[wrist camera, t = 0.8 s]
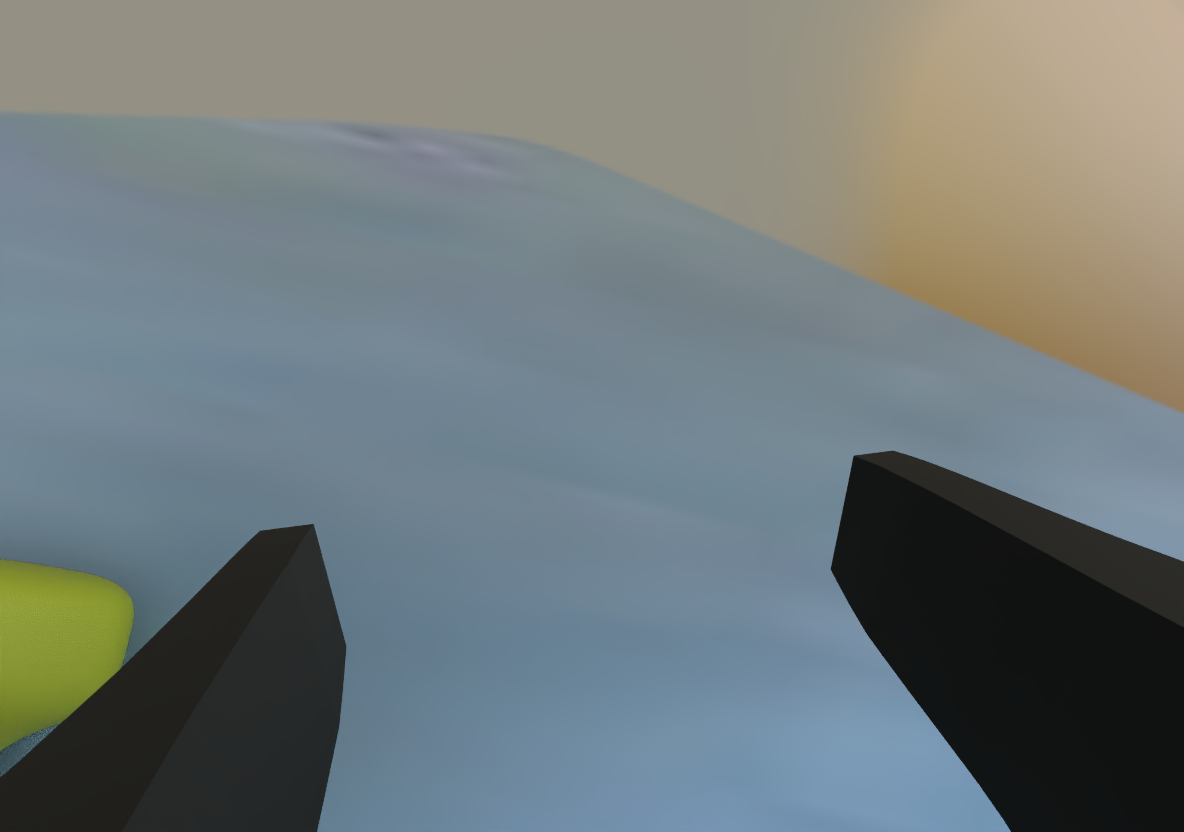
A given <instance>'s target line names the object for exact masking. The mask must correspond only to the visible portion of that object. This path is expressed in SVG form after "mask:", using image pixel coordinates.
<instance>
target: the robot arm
mask: <svg viewBox="0 0 1184 832" xmlns="http://www.w3.org/2000/svg"><path fill="white" fill-rule="evenodd" d="M831 571H832V573H833V575H834V577H835V578H836V580H837V582H838V584H839V586H840V588H841V590H842V592H843V593H844V595H845V597H846V599H847V601H848V603H849V605H850V606H851V608H852V610H853V611H854V613H855V615H856V617H857V618H858V620H859V622H860V623H861V625H862V627H863V629H864V630H865V632H866V633H867V635H868V636H869V638H870V639H871V640H872V642H873V643H874V645H875V646H876V647H877V649H878V650H879V651H880V653H881V654H882V656H883V657H884V658H885V660H886V661H887V662H888V664H889V665H890V666H891V668H892V669H893V670H894V672H895V673H896V674H897V676H898V677H899V679H900V680H901V681H902V683H903V684H904V685H905V687H906V688H907V689H908V691H909V692H910V693H911V695H912V696H913V697H914V699H915V700H916V701H917V703H918V704H919V705H920V707H921V708H922V709H923V711H924V712H925V713H926V715H927V716H928V717H929V718H930V720H931V721H932V722H933V724H934V725H935V726H936V728H937V729H938V730H939V732H940V733H941V734H942V736H943V737H944V738H945V740H946V741H947V742H948V744H949V745H950V746H951V748H952V749H953V750H954V752H955V753H956V754H957V756H958V757H959V758H960V760H961V761H962V762H963V764H964V765H965V766H966V768H967V769H968V770H969V772H970V773H971V774H972V776H973V777H974V778H975V780H976V781H977V782H978V784H979V785H980V787H981V788H982V790H983V791H984V792H985V794H986V795H987V797H988V798H989V800H990V801H991V802H992V804H993V805H994V807H995V808H996V810H997V811H998V812H999V814H1000V815H1001V817H1002V818H1003V820H1004V821H1005V823H1006V824H1007V826H1008V828H1009V829H1010V831H1011V832H1184V562H1183V561H1181V560H1178V559H1175V558H1172V557H1170V556H1167V555H1164V554H1162V553H1159V552H1156V551H1153V550H1151V549H1148V548H1145V547H1142V546H1140V545H1137V544H1134V543H1131V542H1129V541H1126V540H1123V539H1121V538H1118V537H1116V536H1113V535H1110V534H1108V533H1105V532H1103V531H1100V530H1098V529H1095V528H1092V527H1090V526H1087V525H1085V524H1082V523H1080V522H1077V521H1075V520H1072V519H1070V518H1067V517H1065V516H1062V515H1060V514H1057V513H1055V512H1052V511H1050V510H1047V509H1045V508H1042V507H1040V506H1037V505H1035V504H1032V503H1030V502H1027V501H1025V500H1022V499H1020V498H1018V497H1015V496H1013V495H1010V494H1008V493H1005V492H1003V491H1000V490H998V489H995V488H993V487H991V486H988V485H986V484H983V483H981V482H978V481H976V480H973V479H971V478H968V477H966V476H963V475H961V474H958V473H956V472H953V471H950V470H948V469H945V468H943V467H940V466H937V465H935V464H932V463H929V462H927V461H924V460H921V459H918V458H915V457H912V456H909V455H906V454H902V453H899V452H896V451H887V452H879V453H871V454H863V455H855V456H854V457H853V462H852V467H851V472H850V477H849V482H848V487H847V492H846V497H845V501H844V506H843V511H842V516H841V521H840V526H839V531H838V536H837V541H836V546H835V551H834V556H833V561H832V566H831ZM345 656H346V644H345V640H344V636H343V632H342V629H341V625H340V621H339V617H338V614H337V610H336V606H335V602H334V599H333V595H332V591H331V588H330V584H329V580H328V576H327V573H326V569H325V565H324V561H323V558H322V554H321V550H320V546H319V543H318V539H317V535H316V531H315V528H314V524H310V525H302V526H294V527H286V528H279V529H271V530H263V531H259V532H258V533H257V534H256V535H255V536H254V537H253V538H252V539H251V540H250V541H249V542H248V543H247V544H246V545H245V546H244V547H243V548H241V549H240V550H239V551H238V552H237V553H236V554H235V555H234V556H233V557H232V558H231V559H230V560H229V561H228V563H227V564H226V565H225V566H224V567H223V568H222V569H221V570H220V571H219V572H218V573H217V574H216V575H215V576H214V577H213V578H212V579H211V580H210V581H209V582H208V583H207V584H206V585H205V586H204V587H203V588H202V589H201V590H200V591H199V592H198V593H197V594H196V595H195V596H194V597H193V598H192V599H191V600H190V601H189V602H188V603H187V604H186V605H185V606H184V607H183V608H182V609H181V610H180V611H179V612H178V613H177V614H176V615H175V616H174V617H173V618H172V619H171V620H170V621H169V622H168V623H167V624H166V625H165V626H164V627H163V628H162V629H161V630H160V631H159V632H158V633H157V634H156V635H155V636H154V637H153V638H152V639H151V640H149V641H148V642H147V643H146V644H145V645H144V646H143V647H142V648H141V649H140V650H139V651H138V652H137V653H136V654H135V655H134V656H133V657H132V658H131V659H130V660H129V661H128V662H127V663H126V664H125V665H124V666H123V667H122V668H121V669H120V670H119V671H118V672H116V673H115V674H114V675H113V676H112V677H111V678H110V679H109V680H108V681H107V682H106V683H104V684H103V685H102V686H101V687H100V688H99V689H98V690H97V691H96V692H95V693H94V694H92V695H91V696H90V697H89V698H88V699H87V700H86V701H85V702H84V703H83V704H81V705H80V706H79V707H78V708H77V709H76V710H75V711H74V712H73V713H72V714H71V715H69V716H68V717H67V718H66V719H65V720H64V721H63V722H62V723H61V724H60V725H59V726H57V727H56V728H55V729H54V730H53V731H52V732H51V733H50V734H49V735H48V736H46V737H45V738H44V739H43V740H42V741H41V742H40V743H39V744H38V745H37V746H36V747H34V748H33V749H32V750H31V751H30V752H29V753H28V754H27V755H26V756H25V757H23V758H22V759H21V760H20V761H19V762H18V763H17V764H16V765H14V766H13V767H12V768H11V769H10V770H9V771H7V772H6V773H5V774H4V775H3V776H2V777H1V778H0V832H317V829H318V824H319V820H320V815H321V810H322V806H323V801H324V797H325V792H326V787H327V782H328V777H329V773H330V768H331V763H332V758H333V754H334V749H335V744H336V739H337V734H338V729H339V722H340V712H341V702H342V692H343V681H344V668H345Z"/></svg>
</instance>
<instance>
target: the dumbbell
mask: <svg viewBox="0 0 1184 832" xmlns="http://www.w3.org/2000/svg"><path fill="white" fill-rule="evenodd" d="M133 619H134V606H133V602H132V599H131V598H130V596H129V595H128V593H127V592H126V591H125V590H124V589H123V588H121V587H120V586H119V585H117V584H116V583H114V582H112V581H110V580H108V579H105V578H103V577H99V576H96V575H92V574H88V573H84V572H79V571H73V570H68V569H62V568H57V567H51V566H45V565H39V564H34V563H27V562H21V561H14V560H6V559H0V752H1V751H2V750H3V749H4V748H5V747H7V746H9V745H11V744H12V743H14V742H16V741H17V740H19V739H21V738H24V737H26V736H28V735H30V734H33V733H35V732H38V731H40V730H43V729H46V728H49V727H51V726H54V725H57V724H59V723H62V722H63V721H64V720H65V719H66V718H67V717H68V716H69V715H71V714H72V713H73V712H74V711H75V710H76V709H77V708H78V707H79V706H80V705H81V704H83V703H84V702H85V701H86V700H87V699H88V698H89V697H90V696H91V695H92V694H94V693H95V692H96V691H97V690H98V689H99V688H100V687H101V686H102V685H103V684H104V683H106V682H107V681H108V680H109V679H110V678H111V677H112V676H113V675H114V674H115V673H116V672H118V671H119V670H120V669H121V666H122V663H123V660H124V657H125V653H126V650H127V646H128V641H129V637H130V633H131V629H132V625H133Z"/></svg>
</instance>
